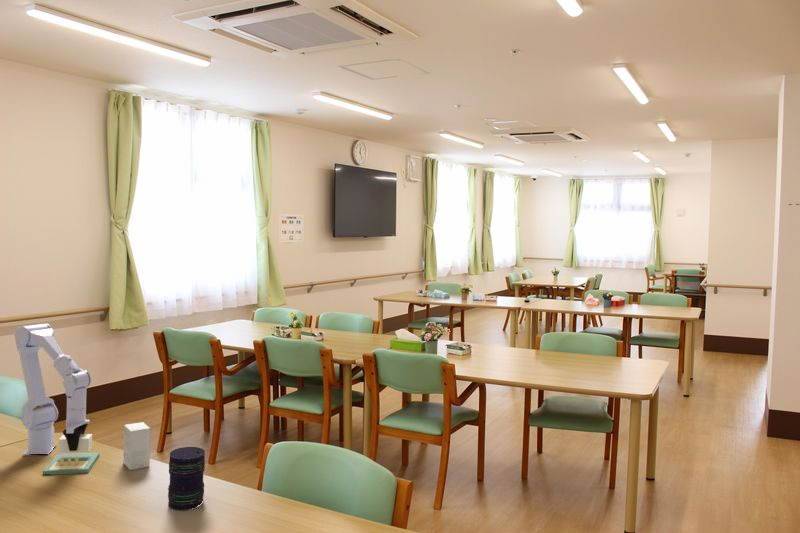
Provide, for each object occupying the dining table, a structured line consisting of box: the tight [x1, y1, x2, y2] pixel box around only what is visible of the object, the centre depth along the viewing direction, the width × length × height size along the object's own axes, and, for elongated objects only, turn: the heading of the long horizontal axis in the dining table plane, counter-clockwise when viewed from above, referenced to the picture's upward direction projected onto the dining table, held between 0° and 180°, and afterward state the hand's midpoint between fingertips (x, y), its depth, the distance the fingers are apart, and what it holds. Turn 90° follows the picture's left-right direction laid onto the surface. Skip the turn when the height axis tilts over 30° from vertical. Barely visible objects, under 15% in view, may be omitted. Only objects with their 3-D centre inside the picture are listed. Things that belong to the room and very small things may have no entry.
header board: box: [42, 452, 100, 475], centre depth 200 cm, size 15×13×4 cm
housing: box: [58, 433, 93, 454], centre depth 204 cm, size 5×9×4 cm, turn 104°
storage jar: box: [167, 446, 206, 512], centre depth 176 cm, size 10×10×15 cm
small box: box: [122, 421, 151, 471], centre depth 203 cm, size 8×6×13 cm
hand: (75, 447), depth 204 cm, fingers closed on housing, 5 cm apart
